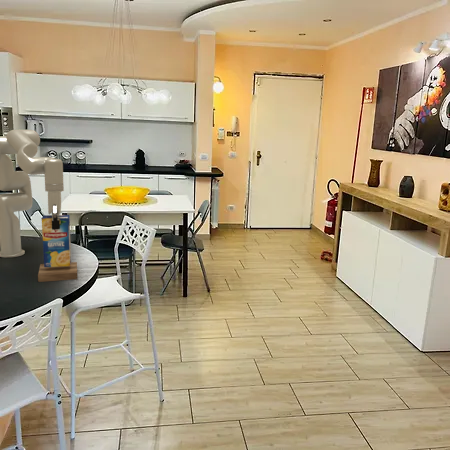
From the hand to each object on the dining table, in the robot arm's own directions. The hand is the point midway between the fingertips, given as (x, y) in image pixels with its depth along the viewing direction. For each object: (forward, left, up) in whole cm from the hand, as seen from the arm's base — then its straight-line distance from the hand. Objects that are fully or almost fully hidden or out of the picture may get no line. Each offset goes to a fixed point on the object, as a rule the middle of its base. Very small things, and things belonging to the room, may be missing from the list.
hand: (56, 227), depth 194 cm
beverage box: (0, 0, -17) cm, 17 cm away
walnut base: (0, 0, -22) cm, 22 cm away
